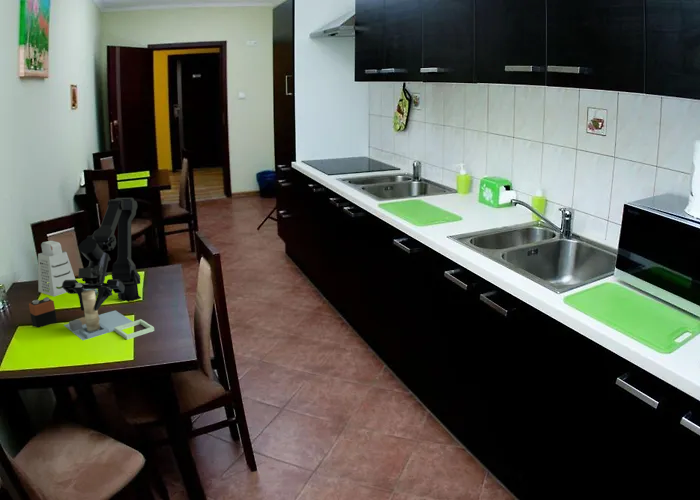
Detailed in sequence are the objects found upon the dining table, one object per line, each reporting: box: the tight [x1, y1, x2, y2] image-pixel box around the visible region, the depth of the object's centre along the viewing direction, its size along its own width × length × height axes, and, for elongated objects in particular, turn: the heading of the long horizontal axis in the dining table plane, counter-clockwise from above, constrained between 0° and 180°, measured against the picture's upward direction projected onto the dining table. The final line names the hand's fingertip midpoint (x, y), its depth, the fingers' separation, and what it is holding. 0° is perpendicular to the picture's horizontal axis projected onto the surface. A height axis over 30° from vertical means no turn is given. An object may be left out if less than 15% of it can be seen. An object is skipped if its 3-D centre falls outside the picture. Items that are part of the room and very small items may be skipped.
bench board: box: [63, 309, 133, 341], centre depth 200 cm, size 18×17×4 cm
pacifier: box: [86, 289, 98, 297], centre depth 229 cm, size 7×6×6 cm
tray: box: [114, 318, 155, 340], centre depth 195 cm, size 9×9×2 cm
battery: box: [28, 297, 58, 328], centre depth 201 cm, size 4×7×10 cm, turn 140°
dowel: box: [81, 290, 100, 331], centre depth 192 cm, size 4×4×13 cm
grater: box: [37, 240, 76, 297], centre depth 233 cm, size 10×10×20 cm
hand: (88, 310), depth 190 cm, fingers closed on dowel, 4 cm apart
